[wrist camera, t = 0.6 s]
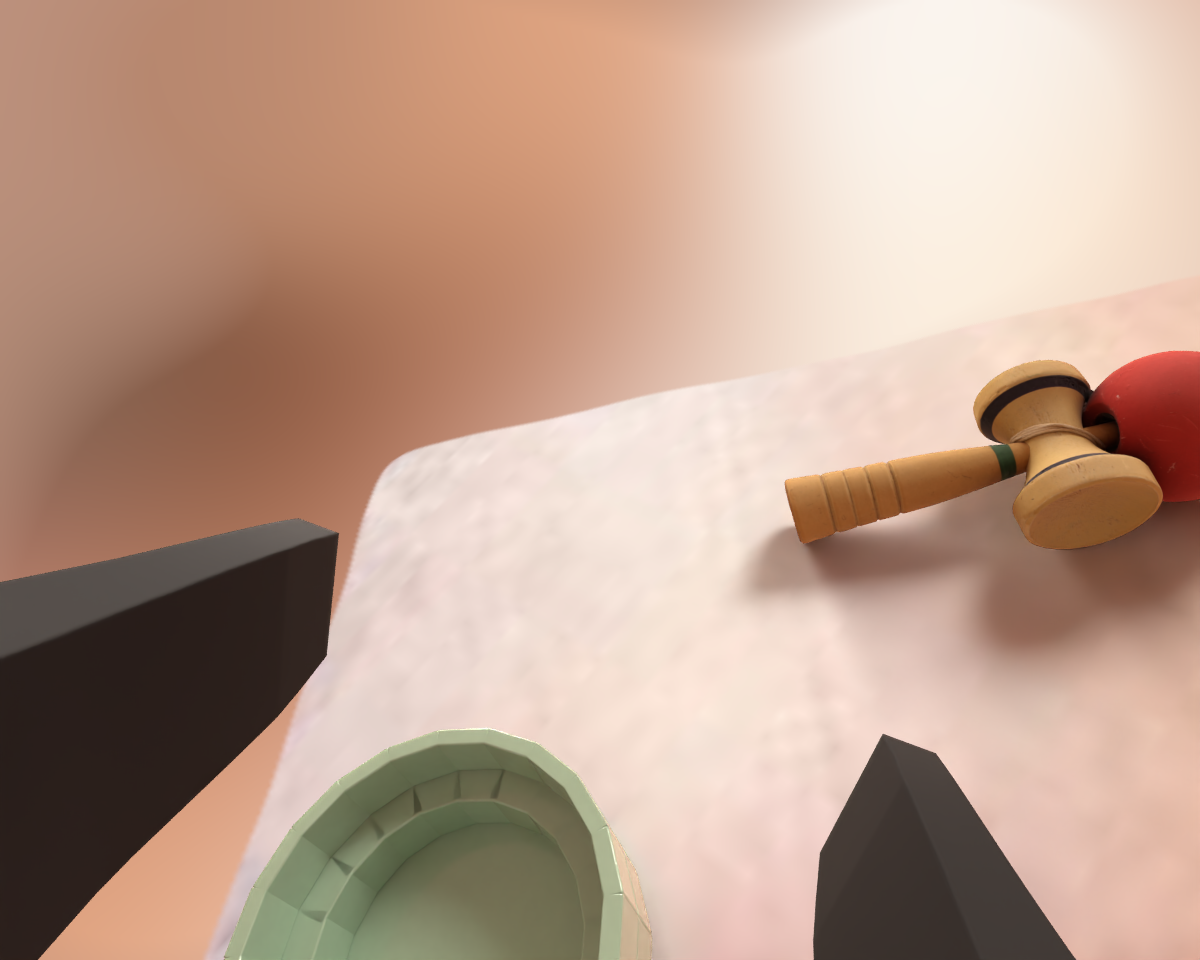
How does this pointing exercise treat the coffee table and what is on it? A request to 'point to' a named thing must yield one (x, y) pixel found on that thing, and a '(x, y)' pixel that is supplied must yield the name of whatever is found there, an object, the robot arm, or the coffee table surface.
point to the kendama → (1042, 455)
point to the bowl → (449, 863)
